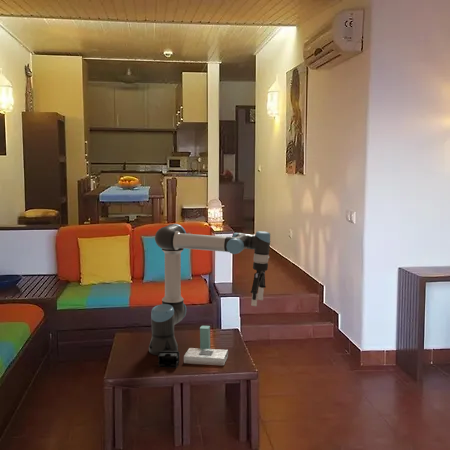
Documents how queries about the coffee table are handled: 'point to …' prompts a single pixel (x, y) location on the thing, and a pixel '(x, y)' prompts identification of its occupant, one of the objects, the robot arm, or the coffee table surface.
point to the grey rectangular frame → (206, 356)
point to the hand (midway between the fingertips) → (257, 302)
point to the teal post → (205, 337)
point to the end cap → (168, 359)
